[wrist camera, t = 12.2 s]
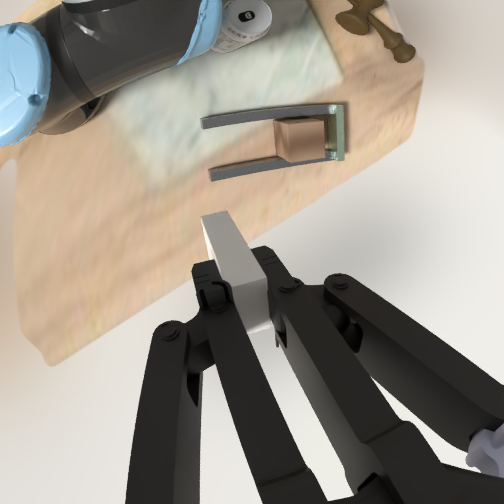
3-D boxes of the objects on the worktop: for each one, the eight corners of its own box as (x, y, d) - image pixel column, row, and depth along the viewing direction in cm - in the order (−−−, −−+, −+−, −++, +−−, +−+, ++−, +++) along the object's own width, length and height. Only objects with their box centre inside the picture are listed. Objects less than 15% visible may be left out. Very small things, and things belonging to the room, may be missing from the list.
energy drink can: (247, 45, 39) (285, 29, 26) (212, 59, 39) (237, 46, 26) (231, 14, 35) (264, -14, 23) (195, 28, 35) (213, 1, 23)
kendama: (387, 72, 47) (313, 6, 37) (404, 40, 44) (335, -25, 34) (409, 73, 42) (333, 0, 32) (425, 40, 39) (355, -32, 29)
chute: (200, 118, 43) (202, 120, 40) (334, 103, 47) (343, 105, 45) (209, 178, 48) (212, 183, 46) (335, 156, 53) (344, 160, 50)
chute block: (273, 120, 46) (287, 124, 41) (306, 116, 47) (323, 121, 42) (276, 154, 49) (290, 162, 44) (308, 149, 50) (325, 157, 46)
